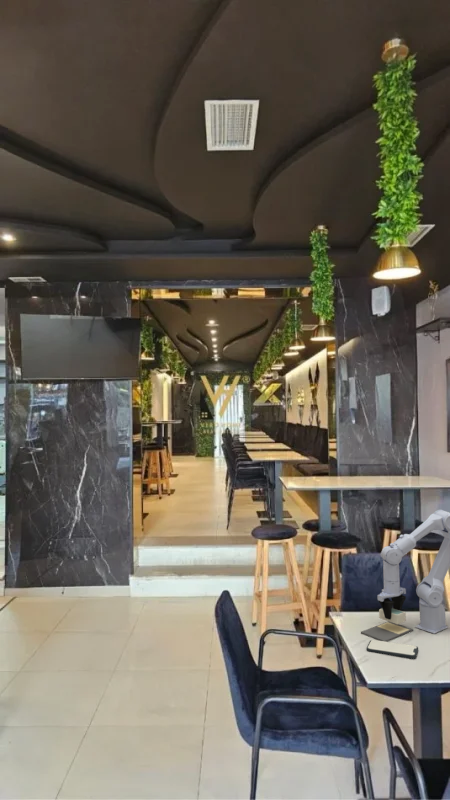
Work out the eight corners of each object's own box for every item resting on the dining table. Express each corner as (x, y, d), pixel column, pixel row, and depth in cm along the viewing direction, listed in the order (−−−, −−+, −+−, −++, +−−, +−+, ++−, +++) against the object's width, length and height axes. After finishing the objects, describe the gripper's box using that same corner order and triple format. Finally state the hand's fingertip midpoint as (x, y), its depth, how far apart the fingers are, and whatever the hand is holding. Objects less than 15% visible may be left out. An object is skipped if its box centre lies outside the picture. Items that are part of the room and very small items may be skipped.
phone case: (365, 653, 175) (415, 661, 168) (365, 648, 175) (415, 656, 168) (370, 643, 183) (418, 650, 176) (370, 638, 183) (418, 645, 176)
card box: (405, 621, 192) (405, 612, 192) (397, 624, 189) (397, 615, 189) (387, 615, 198) (387, 606, 198) (379, 618, 195) (379, 609, 195)
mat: (389, 622, 200) (389, 620, 200) (413, 630, 192) (413, 628, 192) (360, 633, 190) (360, 631, 190) (384, 642, 182) (384, 640, 182)
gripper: (394, 573, 202) (395, 609, 201) (370, 580, 193) (371, 618, 192) (410, 578, 196) (411, 614, 195) (386, 585, 187) (387, 623, 187)
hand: (392, 616), depth 193 cm, fingers closed on card box, 5 cm apart
